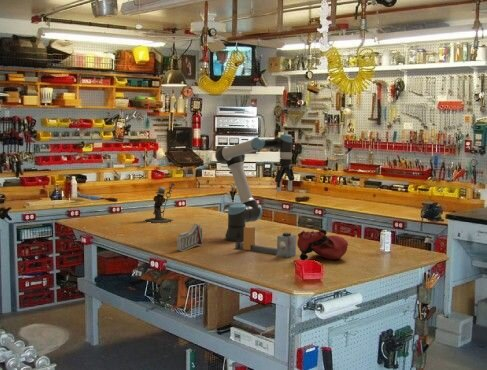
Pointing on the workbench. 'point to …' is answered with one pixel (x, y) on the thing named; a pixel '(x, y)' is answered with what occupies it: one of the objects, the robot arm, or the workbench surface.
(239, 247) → the guide rail
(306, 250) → the red backpack
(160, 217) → the figurine
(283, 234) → the button
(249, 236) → the carriage
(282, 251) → the cabinet
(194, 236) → the decorative sign
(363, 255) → the workbench surface
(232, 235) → the robot arm
